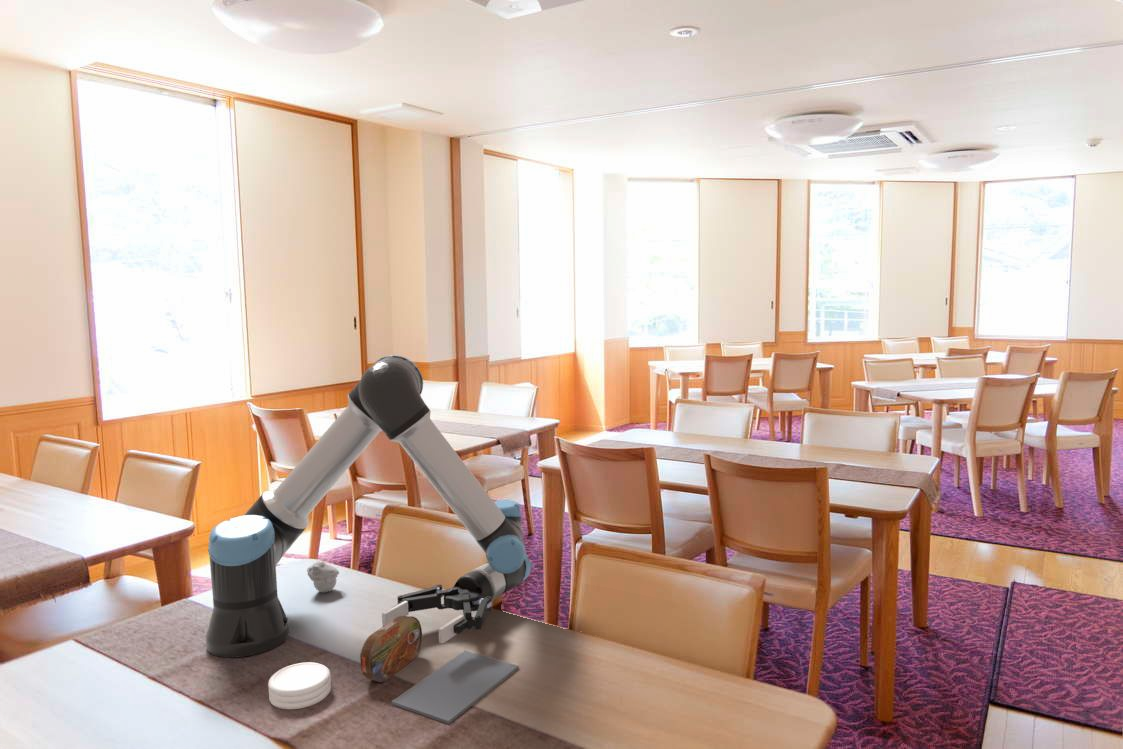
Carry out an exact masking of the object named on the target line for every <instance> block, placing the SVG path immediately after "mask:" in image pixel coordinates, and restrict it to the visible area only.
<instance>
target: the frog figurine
mask: <svg viewBox="0 0 1123 749" xmlns="http://www.w3.org/2000/svg"><path fill="white" fill-rule="evenodd" d="M306 572H307V576H308V577H309V579H310V580H311V582H312V583H313V587H314V588H315V589H316V590H317V592H319V593H329V592H330V591H332V590H333V589H334V588H335V587H336V585H337V578H338V575H339V574H340V571H339V570H338V568H336V567H334V566H333V565H331V564H329V563H326V562H325V561H321V560H317V561H316V562H314V563H313V564H312V565H310V566H309V567H307V568H306ZM328 591H329V592H328Z"/></svg>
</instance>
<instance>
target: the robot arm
mask: <svg viewBox="0 0 1123 749" xmlns="http://www.w3.org/2000/svg"><path fill="white" fill-rule="evenodd" d="M418 367H419V366H417V364H415V362H413V361H412V360H410V359H409V358H407V357H404V356H401V355H386V356H382V357H381V358H379V359H377V360H376V361H375V362H374V363H373V364H372V365H370V366H369V367H368V368H367V369H366V370H365V372H364V373H363V374H362V376H361V377H360V380H359V381H358V382H357V383H356V384H355V386H354V387H353V388H352V390H350V391H349V393H348V394H347V403H348V404H347V406H346V407H345V409H343V411H341V413H340V414H339V416H338V417H337V418H336V419H335V420H334V421H333V422H332V424H331V425H330V426H329V427H328V428H327V430H325V432H324V433H323V434H322V435H321V436H320V438H319V439H318V440H317V441H316V442H315V444H313V446H312V447H311V448H310V449H309V451H307V453H306V454H305V455H304V456H303V458H302V459H301V460H300V461H298V463H297V464H296V465H295V467H294V468H293V469H292V470H291V471H290V473H289V474H288V475H287V476H286V478H284V479H283V481H282V482H280V484H279V485H278V486H277V488H276V489H269V490H265V491H264V492H263V493H261V495H260V496H259V498H257V500H255V502H254V503H253V505H251V507H250V508H249V509H248V510H246V512H245V513H244V515H238V516H234V517H231V518H229V519H228V520H223V521H221V522H220V523H218V524H216V525H215V526H214V527H213V528H212V529H211V531H210V533H209V538H208V548H207V551H208V555H209V563H210V564H209V566H210V576H211V577H210V578H211V591H212V604H213V607H212V612H211V615H210V619H209V624H208V628H207V631H206V634H205V645H206V650H207V651H208V652H209V653H210V654H212V655H214V656H217V657H220V658H221V657H222V658H242V657H249V656H254V655H258V654H262V653H264V652H268V651H269V650H272V649H274V648H276V647H278V646H280V645H281V644H283V643H284V642H285V641H286V640H287V639H288V638H289V635H290V624H289V622H290V621H289V619H288V616H287V615H286V612H285V610H284V608H283V606H282V603H281V601H280V599H279V596H278V582H277V579H278V578H277V566H278V564H279V562H280V561H281V559H282V557H284V555H285V554H286V553H287V551H288V550H289V549H290V548H291V547H292V545H293V544H294V543H295V542H296V541H297V539H298V538H299V537H300V536H301V535H302V534H303V532H305V530H306V529H307V528H308V526H309V525H310V518H309V515H310V513H311V512H313V510H314V508H316V507H317V505H318V504H319V503H320V502H321V500H323V498H324V497H325V496H326V495H327V494H328V493H329V492H330V490H331V489H332V488H333V487H334V486H335V484H336V483H337V482H338V481H339V480H340V479H341V477H342V476H344V474H345V473H346V472H347V470H349V468H350V467H351V466H352V465H353V464H354V462H355V461H356V460H357V459H358V458H359V457H360V456H361V455H362V453H363V452H364V451H365V450H366V449H367V447H368V446H369V445H370V444H371V443H372V442H373V441H374V439H375V438H377V436H378V435H379V434H380V433H381V432H383V433H384V434H385V436H386V437H387V438H388V439H389V441H390V442H394V443H395V442H396V443H399V445H400V446H401V447H402V448H403V449H404V451H405V452H406V453H407V455H408V456H409V458H410V459H411V460H412V462H414V464H415V465H416V467H418V469H419V470H420V471H421V473H422V474H423V475H424V476H425V478H426V479H427V481H429V483H430V484H431V485H432V486H433V488H434V489H435V490H436V492H437V493H438V495H440V497H441V498H442V499H443V500H444V502H445V503H446V505H448V507H449V508H450V509H451V510H452V512H453V514H455V515H456V517H457V518H458V520H459V521H460V522H461V523H462V525H463V526H464V527H465V528H466V530H467V531H468V533H470V534H471V536H472V537H473V538H474V540H475V541H476V543H477V544H478V545H479V547H480V548H481V549H482V551H484V553H485V556H486V560H487V561H486V562H485V563H484V564H482V565H480V566H478V567H476V568H474V569H472V570H471V571H469V572H467V573H465V574H464V575H462V576H460V577H459V578H458V579H457V580H456V582H455V584H454V585H453V587H450V588H446V589H444V588H443V585H442V584H436V585H434V586H432V587H428V588H426V589H421V590H416V591H412V592H408V593H405V594H401V595H398V596H397V604H396V605H393V606H392V607H390V608H389V609H388V610H386V611H384V612H383V611H382V613H381V620H382V622H381V623H382V627H383V626H385V625H386V624H388V623H389V622H391V621H392V620H393V619H395V618H397V617H399V616H409V613H411V612H417V611H423V610H430V609H436V608H437V609H438V610H444V609H446V610H447V609H453V610H454V611H462V612H463V613H462V614H459V615H458V616H456V617H455V618H453V619H451V620H450V621H448V622H447V623H445V624H444V625H442V626H440V627H439V628H438V643H439V644H444V643H446V642H447V641H448V640H450V639H453V637H454V636H457V635H458V634H462V633H463V632H464V631H466V630H471V629H472V628H475V630H476V631H480V630H482V629H483V626H484V623H485V620H486V618H487V615H488V613H489V612H490V611H492V609H493V606H492V602H493V601H495V599H497V598H500V596H503V595H504V594H506V593H507V592H509V591H510V590H513V589H514V588H516V587H518V586H519V585H521V584H522V582H524V581H525V580H526V579H527V578H528V577H529V576H530V574H531V571H532V563H531V562H532V561H530V559H529V555H528V554H527V553H526V550H527V549H526V545H525V542H524V536H523V529H522V517H523V516H522V511H521V510H522V509H521V505H520V503H518V502H517V501H515V500H510V499H500V500H495V501H494V500H493V499H492V497H491V495H489V494H488V492H487V491H486V490H485V488H484V487H483V486H482V484H481V483H480V481H479V480H478V479H477V478H476V477H475V475H474V474H473V473H472V472H471V470H470V469H469V467H468V466H467V465H466V463H465V462H464V461H463V460H462V458H461V456H460V455H458V453H457V451H456V450H455V449H454V448H453V447H452V446H451V443H450V442H449V441H448V440H447V439H446V438H445V436H444V435H443V434H442V433H441V431H440V429H438V427H437V426H436V425H435V423H434V422H433V421H432V419H431V412H432V411H431V409H430V408H429V406H427V404H426V402H425V400H423V397H422V395H421V394H422V392H423V389H424V380H423V376H422V373H421V371H420V369H419V368H418ZM442 598H443V603H442ZM472 612H475V615H474V616H473V615H472Z"/></svg>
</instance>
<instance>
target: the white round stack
mask: <svg viewBox="0 0 1123 749" xmlns="http://www.w3.org/2000/svg"><path fill="white" fill-rule="evenodd" d="M331 680H332V679H331V671H330V669H329V668H328V667H327V666H325V665H324V664H321V663H318V662H310V661H309V662H305V661H304V662H299V663H293V664H291V665H287V666H284V667H283V668H280V669H279V670H278V671H276V672H275V673H273V674H272V675H271V676H270V678H269V679H268V683H267V687H268V695H269V696H268V699H269V702H270V704H271V705H272V706H274V707H276V708H278V709H282V710H299V709H300V710H301V709H304V708H308V707H311V706H314V705H316V704H318V703H321V701H323V700H324V699H325V698H327V696H328V695H329V694H330V692H331V690H332V684H331V683H332V682H331Z"/></svg>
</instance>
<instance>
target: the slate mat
mask: <svg viewBox="0 0 1123 749" xmlns="http://www.w3.org/2000/svg"><path fill="white" fill-rule="evenodd" d="M517 670H519V665H518V664H513V663H511V662H507V661H504V660H500V659H497V658H493V657H490V656H486V655H483V654H479V653H476V652H471V651H468V650H464V651H462V652H461V653H459V654H458V655H456V656H455V657H453V658H452V659H451V660H449V661H448V662H446V663H445V664H443V665H442V666H440V667H439V668H437V669H436V670H435V671H433V672H432V673H430V674H428V676H426V677H425V678H423V679H421V680H420V681H419V682H417V683H416V684H414V685H413V686H411V687H410V688H408V689H406V690H405V691H404V692H402V693H401V694H400V695H399V696H397V697H395V698H394V699H393V700H391V705H392V706H396V707H398V708H401V709H404V710H408V711H410V712H412V713H416V714H419V715H422V716H424V717H427V718H431V719H433V720H436V721H439V722H441V723H445V724H448V725H450V724H451V723H452V722H453V721H454V720H456V719H457V718H458V717H460V716H461V715H462V714H463V713H465V712H466V711H467V710H468V709H470V708H471V707H472V706H473V705H475V704H476V703H477V702H478V701H479V700H481V699H483V697H485V696H486V695H487V694H488V693H490V692H491V691H493V689H495V688H496V687H497V686H498V685H500V684H501V683H502V682H503V681H505V680H506V679H507V678H509V677H510V676H511V675H512V674H513V673H515V672H516V671H517Z"/></svg>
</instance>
